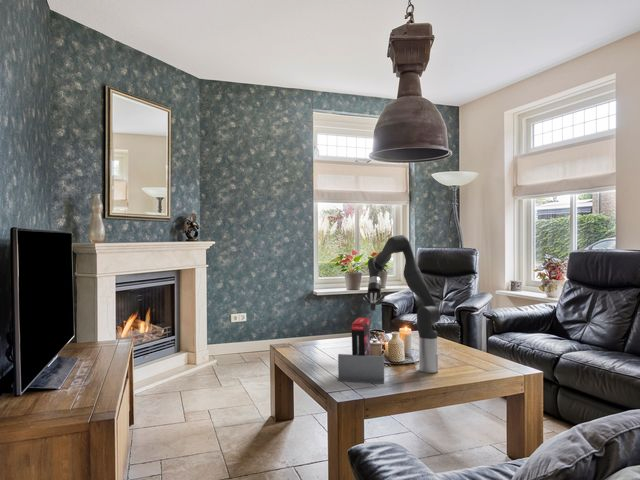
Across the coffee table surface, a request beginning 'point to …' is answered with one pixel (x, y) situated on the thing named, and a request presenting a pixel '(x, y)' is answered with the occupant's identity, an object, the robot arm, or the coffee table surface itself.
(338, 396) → the coffee table surface
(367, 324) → the graphics card box
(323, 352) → the coffee table surface
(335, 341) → the coffee table surface
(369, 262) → the robot arm
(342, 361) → the bracket
